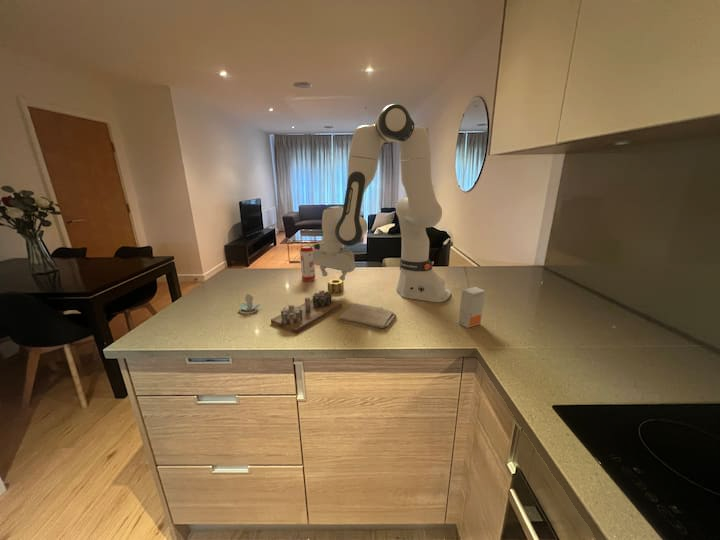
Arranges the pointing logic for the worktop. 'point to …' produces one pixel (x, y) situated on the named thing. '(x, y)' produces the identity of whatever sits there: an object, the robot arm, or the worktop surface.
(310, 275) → the beer can
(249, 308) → the pacifier
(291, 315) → the gear board
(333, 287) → the brass gear
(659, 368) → the worktop surface
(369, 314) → the washcloth
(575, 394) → the worktop surface
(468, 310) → the skincare box
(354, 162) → the robot arm
